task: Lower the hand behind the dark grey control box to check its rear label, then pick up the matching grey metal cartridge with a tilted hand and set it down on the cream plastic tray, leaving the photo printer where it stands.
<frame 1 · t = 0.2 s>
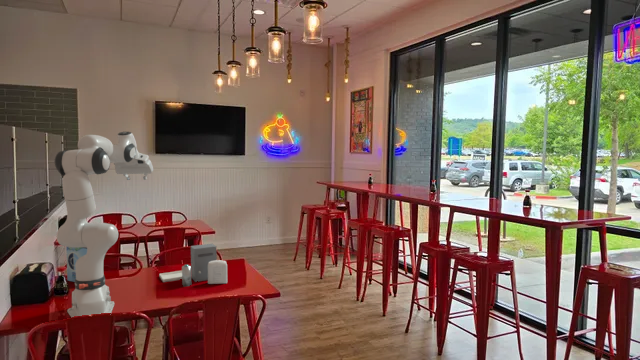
hand: (137, 179, 247), 54 cm above the table, tool tilted 30°, fingers open, 8 cm apart
control box: (204, 278, 239), on the table
photo printer: (217, 283, 231), on the table
cartridge: (187, 285, 228), on the table
gum box: (83, 282, 234), on the table
tray: (174, 277, 241), on the table
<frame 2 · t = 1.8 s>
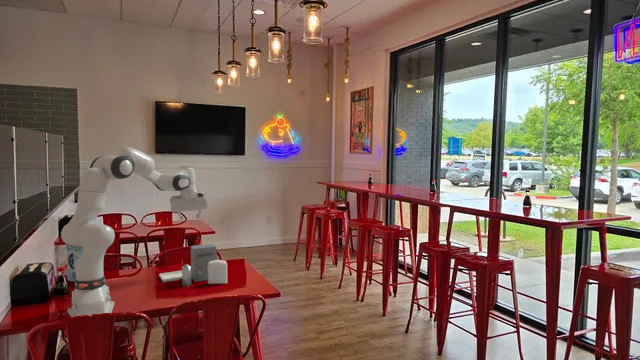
hand: (189, 218, 248), 32 cm above the table, tool pointing down, fingers open, 8 cm apart
nothing on the table moved.
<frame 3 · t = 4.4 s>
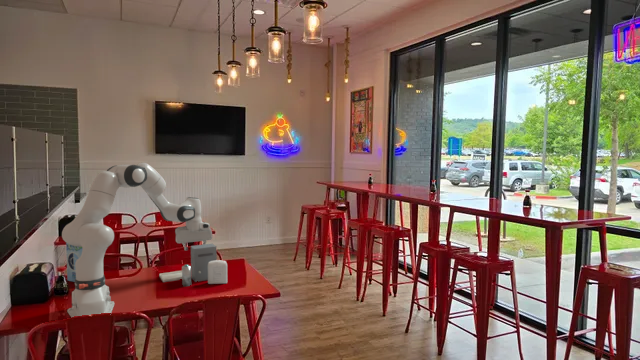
hand: (194, 249, 248), 14 cm above the table, tool pointing down, fingers open, 8 cm apart
nothing on the table moved.
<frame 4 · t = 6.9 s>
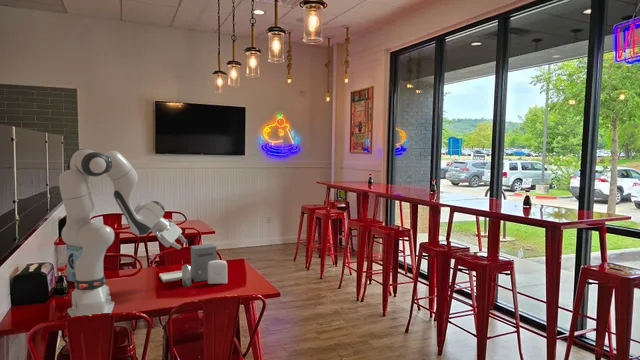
hand: (182, 245, 225), 22 cm above the table, tool tilted 45°, fingers open, 8 cm apart
nothing on the table moved.
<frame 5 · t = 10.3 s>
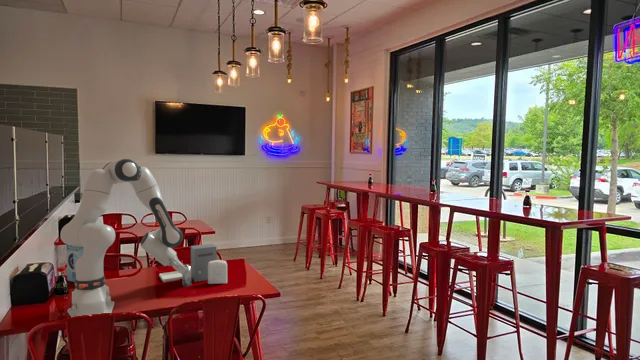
hand: (187, 272, 228), 6 cm above the table, tool tilted 45°, fingers closed on cartridge, 5 cm apart
cartridge: (187, 285, 228), on the table, touching gripper
everything else where it was.
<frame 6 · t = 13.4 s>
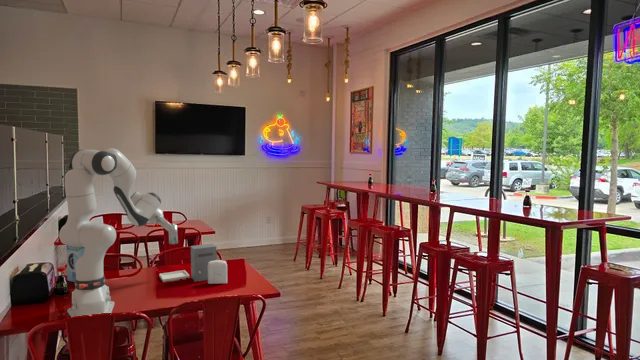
hand: (174, 231, 239), 26 cm above the table, tool tilted 45°, fingers closed on cartridge, 5 cm apart
cartridge: (173, 243, 240), point 19 cm above the table, touching gripper
everything else where it was.
when the fingers open (8 cm above the table, at t = 16.9 s): cartridge drops 1 cm, resting on tray.
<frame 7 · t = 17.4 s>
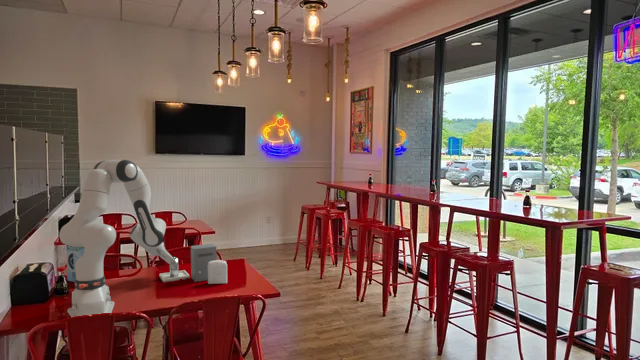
hand: (175, 262, 241), 8 cm above the table, tool tilted 45°, fingers open, 8 cm apart
cartridge: (174, 276, 241), point 1 cm above the table, touching tray
everything else where it was.
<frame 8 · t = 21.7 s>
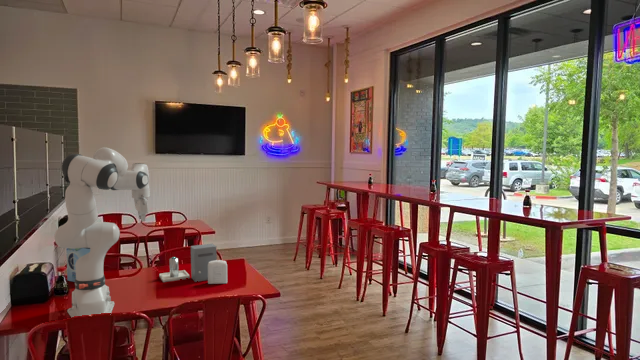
hand: (141, 220, 229), 34 cm above the table, tool pointing down, fingers open, 8 cm apart
nothing on the table moved.
at the end: cartridge inside the target area on the tray (0.0 cm from its centre), point 0.6 cm above the tray's base; cartridge tilted 0°; the gripper is holding nothing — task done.
